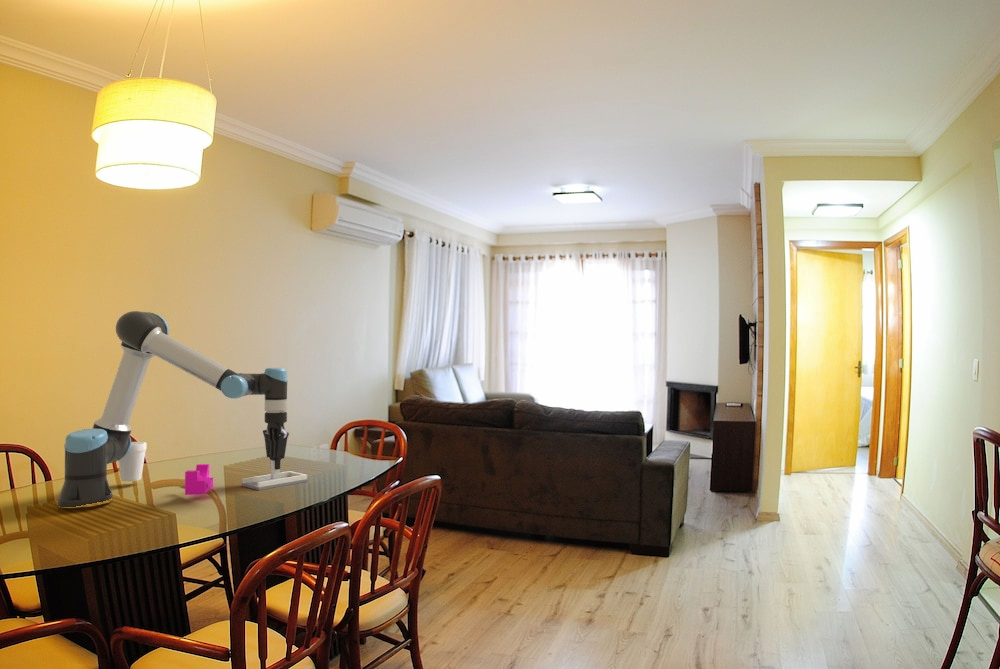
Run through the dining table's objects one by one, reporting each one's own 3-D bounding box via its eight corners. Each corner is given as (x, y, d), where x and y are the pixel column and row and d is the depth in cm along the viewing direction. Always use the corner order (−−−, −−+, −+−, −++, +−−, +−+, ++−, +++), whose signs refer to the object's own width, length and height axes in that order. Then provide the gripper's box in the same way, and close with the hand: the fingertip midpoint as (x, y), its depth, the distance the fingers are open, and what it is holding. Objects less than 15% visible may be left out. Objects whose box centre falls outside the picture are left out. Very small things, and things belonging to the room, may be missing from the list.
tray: (258, 490, 227) (259, 482, 227) (241, 485, 234) (241, 478, 234) (307, 481, 241) (307, 474, 242) (289, 477, 249) (289, 471, 249)
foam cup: (132, 482, 238) (133, 445, 238) (109, 481, 240) (110, 445, 240) (151, 477, 247) (152, 442, 248) (129, 476, 249) (130, 441, 249)
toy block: (205, 494, 221) (205, 471, 221) (184, 495, 220) (185, 472, 220) (216, 485, 236) (216, 463, 236) (197, 485, 235) (198, 464, 235)
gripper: (295, 411, 237) (295, 479, 236) (275, 409, 245) (274, 474, 245) (276, 413, 231) (276, 482, 231) (256, 411, 239) (255, 477, 239)
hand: (275, 478), depth 238 cm, fingers closed
